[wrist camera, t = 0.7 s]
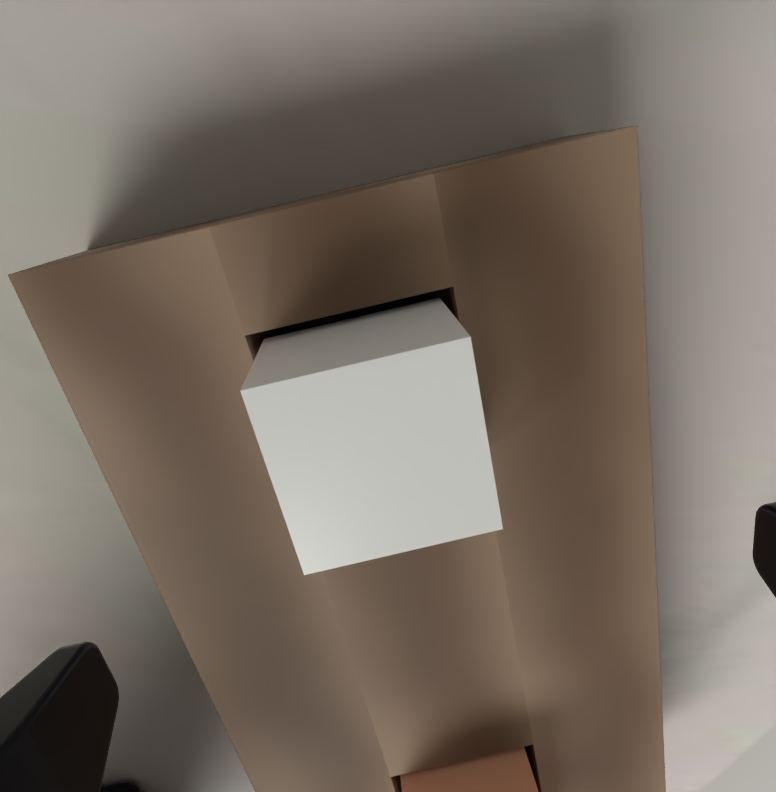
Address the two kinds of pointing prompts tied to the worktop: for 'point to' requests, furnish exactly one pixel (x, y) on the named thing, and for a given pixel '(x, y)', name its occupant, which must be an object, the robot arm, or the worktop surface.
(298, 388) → the grey button
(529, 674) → the button panel
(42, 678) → the robot arm
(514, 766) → the terracotta button
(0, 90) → the worktop surface
